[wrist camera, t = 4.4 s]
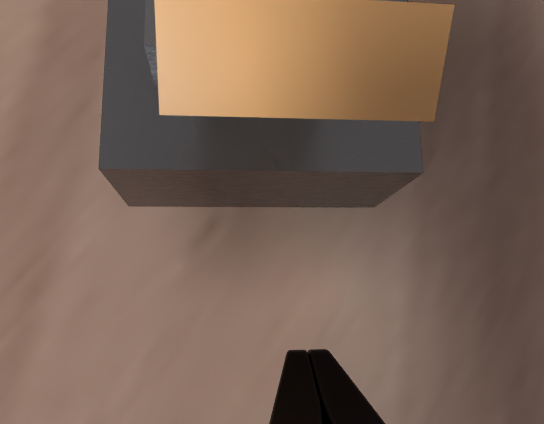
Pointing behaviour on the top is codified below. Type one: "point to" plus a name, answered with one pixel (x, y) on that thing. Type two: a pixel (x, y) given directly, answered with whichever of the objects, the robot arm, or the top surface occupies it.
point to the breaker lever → (301, 58)
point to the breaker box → (235, 142)
